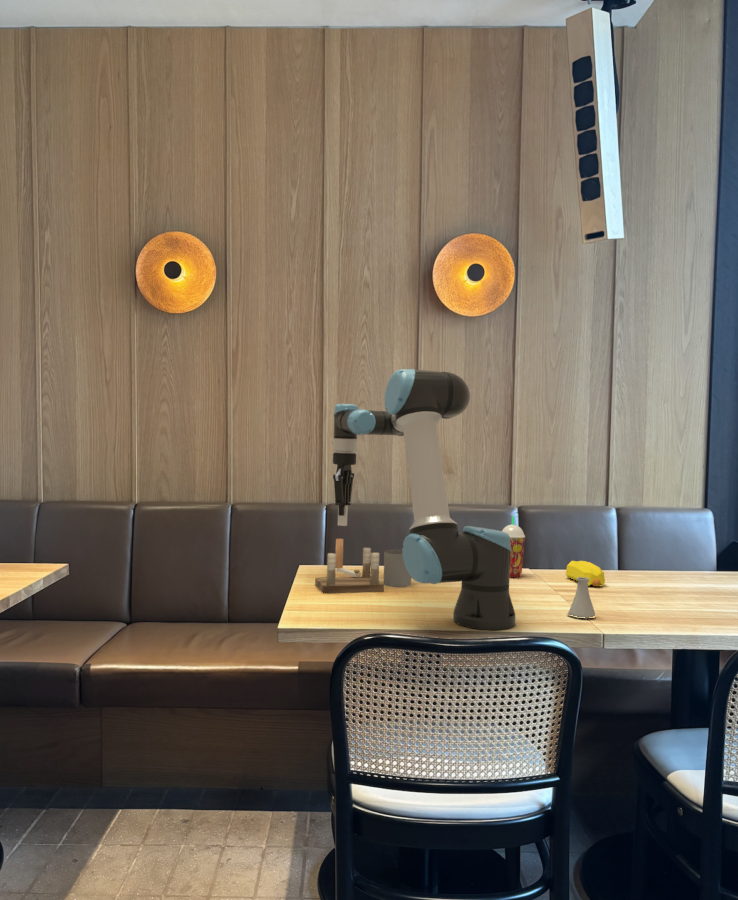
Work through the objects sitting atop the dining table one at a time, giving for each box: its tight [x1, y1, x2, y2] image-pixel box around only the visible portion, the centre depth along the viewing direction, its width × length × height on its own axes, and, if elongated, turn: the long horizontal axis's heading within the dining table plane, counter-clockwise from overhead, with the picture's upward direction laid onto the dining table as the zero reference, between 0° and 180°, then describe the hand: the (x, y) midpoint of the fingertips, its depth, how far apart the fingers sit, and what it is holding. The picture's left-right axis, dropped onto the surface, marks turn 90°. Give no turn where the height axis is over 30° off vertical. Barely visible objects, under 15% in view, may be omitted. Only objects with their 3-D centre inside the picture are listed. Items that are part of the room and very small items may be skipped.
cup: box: [383, 549, 412, 588], centre depth 212 cm, size 8×8×10 cm
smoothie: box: [501, 515, 526, 578], centre depth 230 cm, size 8×8×20 cm
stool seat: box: [314, 547, 385, 594], centre depth 205 cm, size 12×18×11 cm
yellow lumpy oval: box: [564, 560, 606, 587], centre depth 224 cm, size 18×7×8 cm
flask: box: [567, 577, 596, 618], centre depth 179 cm, size 7×7×10 cm
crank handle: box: [335, 538, 362, 577], centre depth 214 cm, size 2×12×10 cm, turn 35°
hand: (342, 525), depth 223 cm, fingers closed
